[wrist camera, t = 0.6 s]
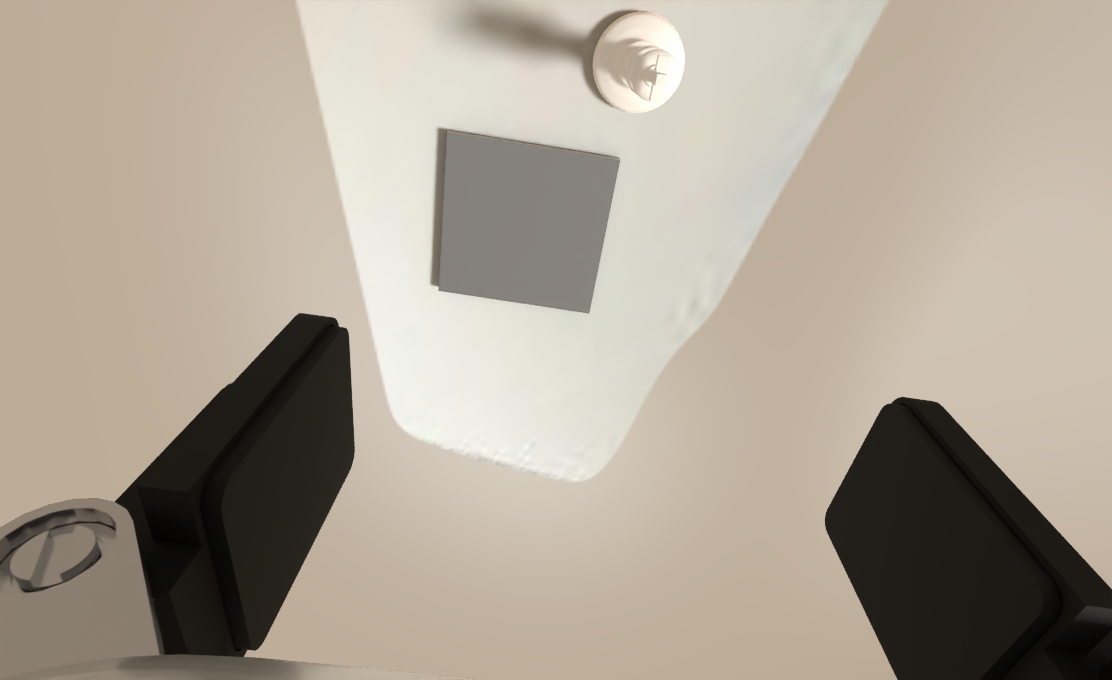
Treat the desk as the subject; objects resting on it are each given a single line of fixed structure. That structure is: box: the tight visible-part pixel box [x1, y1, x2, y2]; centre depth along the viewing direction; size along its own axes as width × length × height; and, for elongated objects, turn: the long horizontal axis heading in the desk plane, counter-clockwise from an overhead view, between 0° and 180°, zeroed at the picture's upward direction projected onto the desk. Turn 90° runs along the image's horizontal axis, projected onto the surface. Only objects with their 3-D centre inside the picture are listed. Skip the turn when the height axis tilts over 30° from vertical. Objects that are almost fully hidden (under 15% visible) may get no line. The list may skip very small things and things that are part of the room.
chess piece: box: [593, 12, 685, 113], centre depth 26 cm, size 5×5×10 cm
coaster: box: [439, 130, 620, 313], centre depth 35 cm, size 10×10×1 cm
